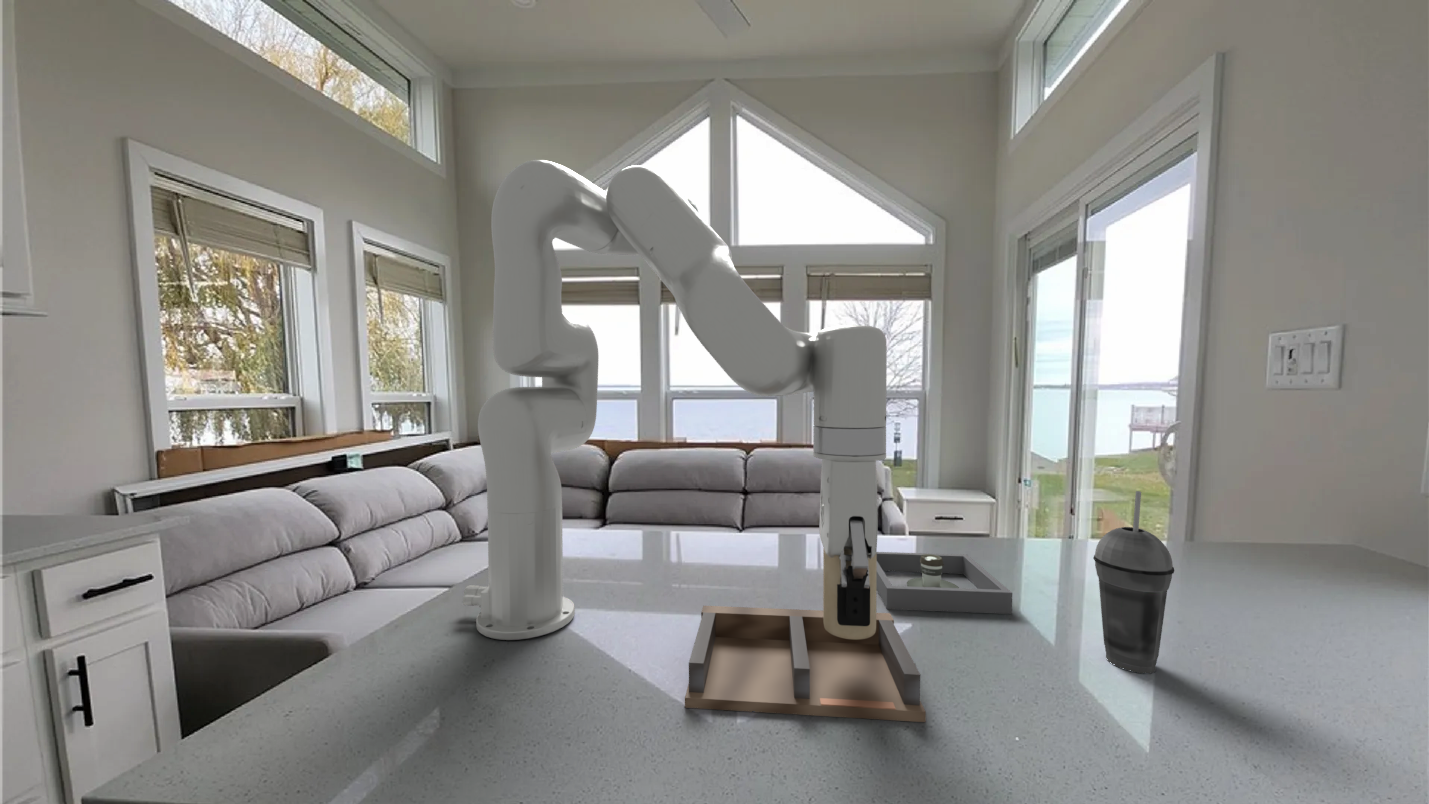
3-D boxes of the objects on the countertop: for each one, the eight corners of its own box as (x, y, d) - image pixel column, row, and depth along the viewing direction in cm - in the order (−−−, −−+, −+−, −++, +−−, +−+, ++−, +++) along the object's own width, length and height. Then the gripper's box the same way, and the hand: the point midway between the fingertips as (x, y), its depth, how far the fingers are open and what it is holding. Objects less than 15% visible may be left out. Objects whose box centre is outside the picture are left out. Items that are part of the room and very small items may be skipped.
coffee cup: (977, 583, 85) (978, 552, 85) (967, 609, 75) (968, 574, 75) (900, 569, 92) (900, 540, 92) (881, 592, 82) (881, 560, 82)
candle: (878, 642, 54) (879, 544, 54) (823, 637, 55) (823, 541, 55) (873, 619, 59) (874, 530, 59) (823, 615, 60) (823, 528, 60)
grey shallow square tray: (886, 609, 76) (886, 588, 76) (865, 568, 93) (865, 551, 93) (1012, 614, 74) (1012, 592, 74) (966, 571, 91) (967, 554, 91)
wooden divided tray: (684, 707, 53) (684, 667, 53) (703, 636, 68) (703, 605, 67) (925, 722, 50) (926, 680, 50) (889, 645, 65) (890, 613, 65)
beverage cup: (1154, 653, 63) (1158, 485, 63) (1185, 685, 56) (1190, 498, 56) (1082, 643, 66) (1085, 482, 65) (1104, 673, 59) (1107, 493, 58)
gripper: (807, 435, 66) (807, 581, 66) (821, 453, 49) (821, 649, 49) (870, 436, 65) (869, 583, 65) (906, 453, 48) (905, 652, 48)
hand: (848, 609), depth 57 cm, fingers closed on candle, 5 cm apart
